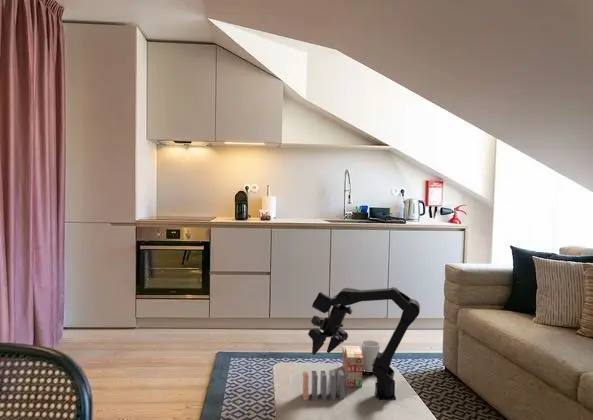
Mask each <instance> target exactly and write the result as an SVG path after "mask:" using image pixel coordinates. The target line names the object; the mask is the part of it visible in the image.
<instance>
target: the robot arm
mask: <svg viewBox="0 0 593 420" xmlns="http://www.w3.org/2000/svg"><path fill="white" fill-rule="evenodd" d="M385 300H386V301H387V300H389V301H391V300H392V301H393V303H394V304H396V305H397V307H398V309H401V316H400V319H399V321H398V323H397V325H396V327H395V329H394V331H393V332H392V335H391V337H390V338H389V341H388V342H387V344H386V346H385V348H384V350H383V351H382V352H380V351H379V352H378V353H377V356H376V358H375V359H374V361H373V363H372V366H373V369H372V372H373V374H372V375H374V377H375V378H376V382H375V386H374V388H375V389H374V391H375V393H374V394H375V395H376V396H377V398H378V400H396V399H397V396H396V395H395V392H396V388H395V387H396V381H395V379H394V378H395V370H394V369H393V368H392V367H391V364H392V363H391V362H392V359H393V357H394V355H395V353H396V351H397V349H398V348H399V345H400V343H401V341H402V339H403V338H404V336H405V334H406V333H407V330H408V328H409V327H410V326H411V324H412V323H414V321H415V320H416V319H417V318H418V316H419V315H420V311H421V305H420V303H419V301H418V300H416V299H414V298H411V297H409V296H408V295H407V294H405V293H403V292H402V291H401V290H399V289H398V288H397V287H390V288H375V289H357V288H350V287H349V288H348V287H345V288H342V289H341V290H340V291H339V292H338V294H336V295H333V296H332V297H330V296H329V295H327V294H326V293H323V292H321V291H320V292H319V293H318V294H317V296H316V298H315V299H314V301H313V303H312V305H311V307H312V308H313V309H315V310H316V311H319V312H321V313H323V314H327V313H329V315H328V317H321V316H317V315H313V317H312V318H311V320H310V322H311V324H312V326H313V327H315V326H316V327H319V328H311V329H309V332H308V333H307V335H308V336H309V338H310V339H311V342H312V347H311V348H312V349H311V354H312V355H313V356H314V355H316V354H317V353H318V351H320V350H321V348H322V347H323V346H324V345H325V343H324V342H326V340H327V338H330V339H329V340H330V341H329V343H328V346H327V350H326V353H327V354H329V353H331V352H332V351H333V350H335V349H336V348H337V347H339V346H340V345H341V344H342V343H344V342H345V341H347V339H348V338H349V334H348V332H347V331H346V330H344V329H343V326H344V324H343V321H344V320H345V316H347V314H348V315H352V314H353V310H352V307H351V305H353V304H357V303H360V302H361V303H362V302H372V301H385Z"/></svg>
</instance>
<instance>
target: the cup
mask: <svg viewBox="0 0 593 420" xmlns="http://www.w3.org/2000/svg"><path fill="white" fill-rule="evenodd" d="M360 344H361V347H360V348H361V353H362V356H363V370H365V371H366V372H372V369H373V366H372V363H373V361H374V359H375V358H376V356H377V353H378V352H380V347H381V343H380V342H378V341H375V340H369V339H368V340H363V341H361V343H360Z"/></svg>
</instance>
